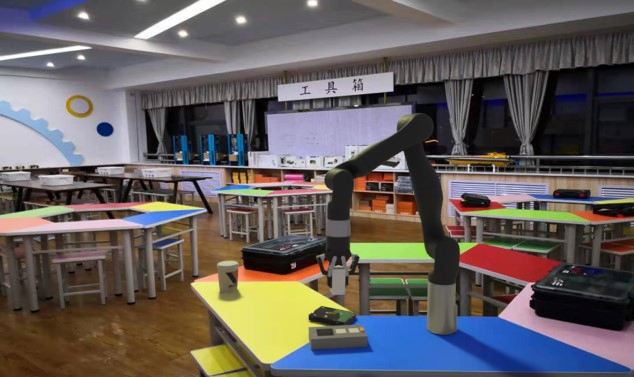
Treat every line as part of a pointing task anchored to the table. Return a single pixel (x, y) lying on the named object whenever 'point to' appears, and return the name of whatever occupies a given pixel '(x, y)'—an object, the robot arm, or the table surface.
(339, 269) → the cream rectangular block
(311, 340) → the power strip
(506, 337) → the table surface
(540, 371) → the table surface
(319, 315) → the disk drive
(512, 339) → the table surface
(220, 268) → the coffee cup
